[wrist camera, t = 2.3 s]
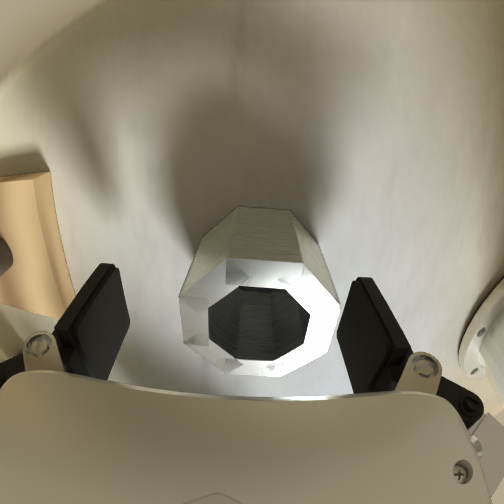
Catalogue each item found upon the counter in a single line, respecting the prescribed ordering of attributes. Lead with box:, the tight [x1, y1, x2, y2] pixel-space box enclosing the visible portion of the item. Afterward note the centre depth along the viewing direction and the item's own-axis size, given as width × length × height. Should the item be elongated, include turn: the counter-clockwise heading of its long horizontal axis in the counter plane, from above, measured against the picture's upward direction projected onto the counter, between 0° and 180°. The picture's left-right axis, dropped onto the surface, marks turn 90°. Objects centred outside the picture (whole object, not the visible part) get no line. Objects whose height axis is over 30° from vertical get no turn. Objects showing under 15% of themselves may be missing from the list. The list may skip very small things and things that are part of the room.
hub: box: [178, 206, 341, 377], centre depth 12 cm, size 6×6×5 cm
